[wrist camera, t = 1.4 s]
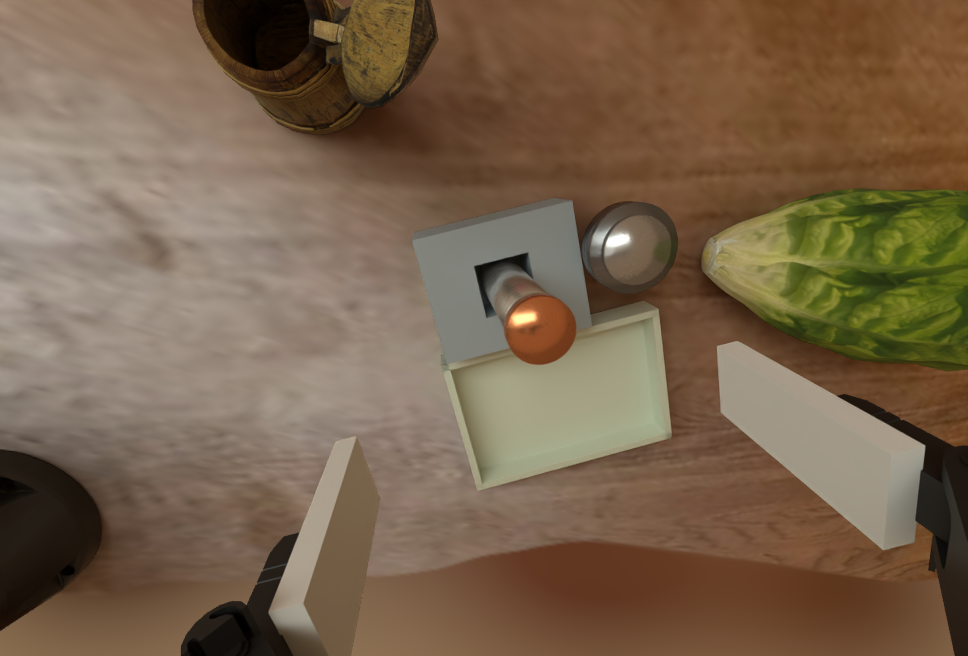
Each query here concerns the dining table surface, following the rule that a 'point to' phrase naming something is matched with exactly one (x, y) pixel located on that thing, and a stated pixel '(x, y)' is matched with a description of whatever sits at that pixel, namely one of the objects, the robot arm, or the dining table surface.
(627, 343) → the tray
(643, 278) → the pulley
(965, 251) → the lettuce
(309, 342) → the dining table surface
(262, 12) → the wooden mug
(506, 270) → the pin
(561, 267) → the block
